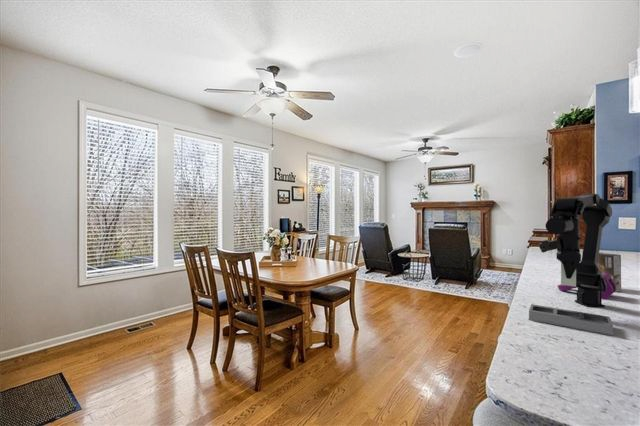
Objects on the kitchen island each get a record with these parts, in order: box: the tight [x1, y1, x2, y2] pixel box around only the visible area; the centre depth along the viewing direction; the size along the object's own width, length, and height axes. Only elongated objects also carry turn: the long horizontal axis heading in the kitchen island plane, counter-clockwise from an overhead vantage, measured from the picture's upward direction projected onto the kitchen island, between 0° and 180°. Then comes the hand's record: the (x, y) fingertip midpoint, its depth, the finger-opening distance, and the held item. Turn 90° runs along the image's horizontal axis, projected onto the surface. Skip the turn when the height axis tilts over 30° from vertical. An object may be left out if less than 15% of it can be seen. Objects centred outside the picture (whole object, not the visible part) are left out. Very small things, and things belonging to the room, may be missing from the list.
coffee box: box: [598, 252, 622, 293], centre depth 134 cm, size 9×6×16 cm
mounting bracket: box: [557, 273, 617, 300], centre depth 127 cm, size 9×8×18 cm
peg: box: [560, 262, 576, 287], centre depth 104 cm, size 4×4×8 cm
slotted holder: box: [528, 303, 614, 337], centre depth 95 cm, size 20×9×3 cm, turn 50°
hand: (568, 277), depth 104 cm, fingers closed on peg, 4 cm apart
